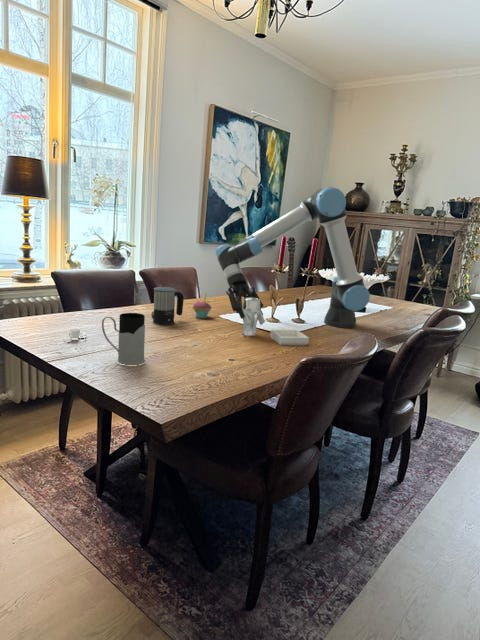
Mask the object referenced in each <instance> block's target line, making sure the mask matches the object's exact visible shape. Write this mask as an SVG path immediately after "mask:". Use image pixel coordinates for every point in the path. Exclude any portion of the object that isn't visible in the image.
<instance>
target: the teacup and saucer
mask: <svg viewBox="0 0 480 640" xmlns="http://www.w3.org/2000/svg"><path fill="white" fill-rule="evenodd" d="M79 336H80V337H83V336H86V337H87V332H81V330H80V328H71V329H70V331H69V332H68V337H70V338H69V339H70V340H72V338H79Z"/></svg>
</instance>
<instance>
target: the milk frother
mask: <svg viewBox="0 0 480 640" xmlns="http://www.w3.org/2000/svg"><path fill="white" fill-rule="evenodd" d="M153 291H154V294H153V296H154V297H153V311H152V312H151V314H150V315H151V317H152V318H153V320H152V323H153V324H155V325H164V326H166V325H168V326H169V325H173V324H175V314H176V315H177V316H182V315H183V310H184V299H185V296H184V294H183V293H182V292H180V291H178V290H176V289H175V288H174V287H170V286H169V287H168V286H157V287H154V288H153ZM175 297H176V298H175ZM175 299H177V300H175ZM175 301H176V310H175ZM175 311H176V312H175Z"/></svg>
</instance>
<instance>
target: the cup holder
mask: <svg viewBox="0 0 480 640" xmlns="http://www.w3.org/2000/svg"><path fill="white" fill-rule="evenodd" d="M269 337H270V338H271V339H272V340H273V341H275V342H276V343H277V344H279V346H309V341H310V337H309V336H307V335H306V334H304V333H303V332H301V331H300V330H298V329H270V335H269Z"/></svg>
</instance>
